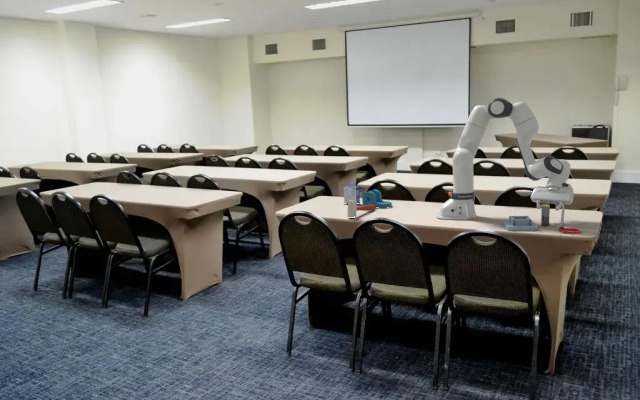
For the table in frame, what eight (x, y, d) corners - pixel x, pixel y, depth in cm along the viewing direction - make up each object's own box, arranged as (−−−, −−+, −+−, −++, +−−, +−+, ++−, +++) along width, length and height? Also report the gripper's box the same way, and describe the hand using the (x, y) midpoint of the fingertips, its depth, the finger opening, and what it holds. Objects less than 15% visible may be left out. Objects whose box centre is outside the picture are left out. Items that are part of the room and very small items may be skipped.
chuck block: (508, 230, 256) (508, 220, 255) (503, 224, 269) (503, 215, 269) (537, 230, 253) (538, 220, 252) (531, 224, 267) (531, 214, 266)
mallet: (371, 199, 328) (347, 200, 303) (376, 200, 326) (352, 200, 301) (371, 216, 329) (347, 218, 304) (376, 216, 327) (352, 218, 302)
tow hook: (579, 230, 251) (558, 229, 253) (581, 204, 248) (560, 203, 251) (582, 235, 243) (560, 233, 246) (584, 208, 240) (562, 207, 243)
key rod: (542, 226, 261) (542, 205, 260) (540, 224, 265) (540, 203, 263) (550, 226, 261) (550, 204, 259) (548, 224, 264) (548, 203, 263)
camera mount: (362, 207, 338) (362, 191, 336) (370, 204, 347) (369, 189, 345) (387, 209, 328) (387, 192, 327) (394, 206, 337) (394, 190, 335)
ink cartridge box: (360, 203, 350) (359, 182, 348) (356, 205, 346) (355, 184, 343) (348, 203, 356) (347, 182, 353) (343, 204, 351) (343, 183, 349)
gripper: (533, 182, 274) (525, 203, 268) (574, 184, 259) (566, 207, 254) (536, 189, 278) (529, 210, 272) (577, 192, 263) (569, 214, 258)
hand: (547, 209), depth 263 cm, fingers open, 8 cm apart
